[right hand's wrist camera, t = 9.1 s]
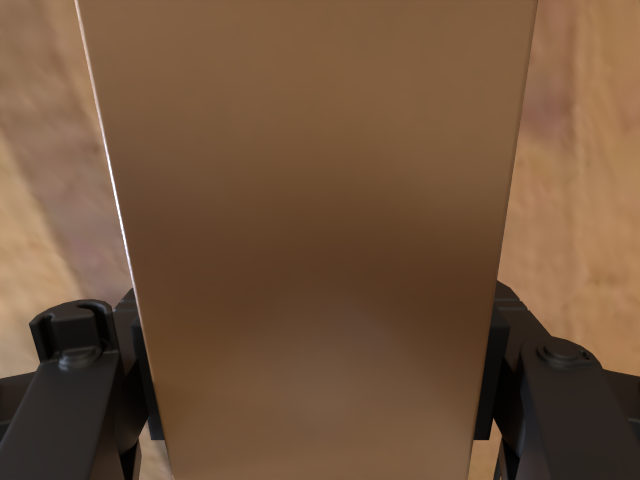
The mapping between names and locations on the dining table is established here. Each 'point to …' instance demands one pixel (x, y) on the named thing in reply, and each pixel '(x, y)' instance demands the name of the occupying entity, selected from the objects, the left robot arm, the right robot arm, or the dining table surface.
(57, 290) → the dining table surface
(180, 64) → the bar
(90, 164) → the dining table surface
